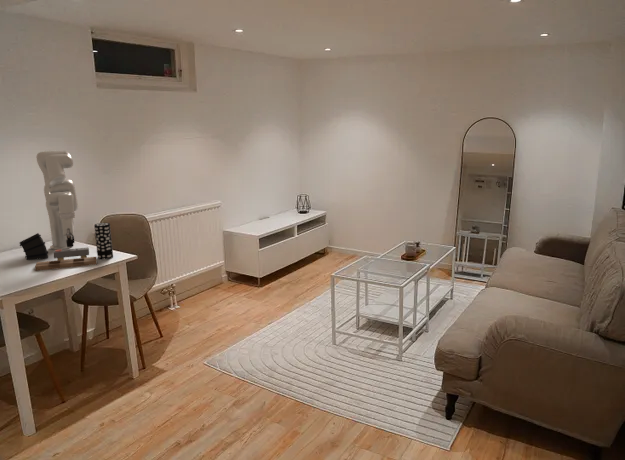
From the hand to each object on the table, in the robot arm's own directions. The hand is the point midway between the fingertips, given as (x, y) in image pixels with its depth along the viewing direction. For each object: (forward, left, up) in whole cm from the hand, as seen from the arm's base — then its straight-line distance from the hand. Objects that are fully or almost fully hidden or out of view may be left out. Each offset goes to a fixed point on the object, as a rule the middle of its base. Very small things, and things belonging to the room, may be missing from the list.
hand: (70, 244), depth 275 cm
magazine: (-11, -20, -9) cm, 25 cm away
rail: (+10, -2, -9) cm, 14 cm away
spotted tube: (+1, +17, -9) cm, 20 cm away
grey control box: (-1, 0, -9) cm, 9 cm away
